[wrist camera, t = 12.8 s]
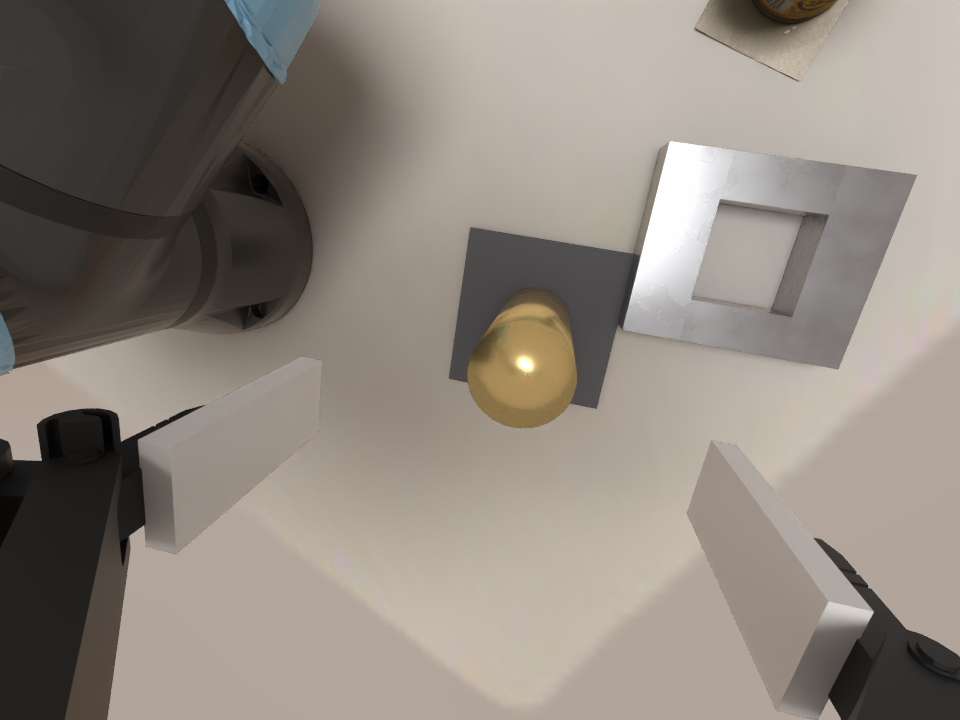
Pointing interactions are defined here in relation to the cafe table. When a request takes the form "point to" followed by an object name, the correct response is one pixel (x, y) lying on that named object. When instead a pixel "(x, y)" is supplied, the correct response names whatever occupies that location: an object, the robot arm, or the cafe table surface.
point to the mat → (551, 265)
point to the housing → (812, 265)
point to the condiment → (773, 29)
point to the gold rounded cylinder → (525, 361)
